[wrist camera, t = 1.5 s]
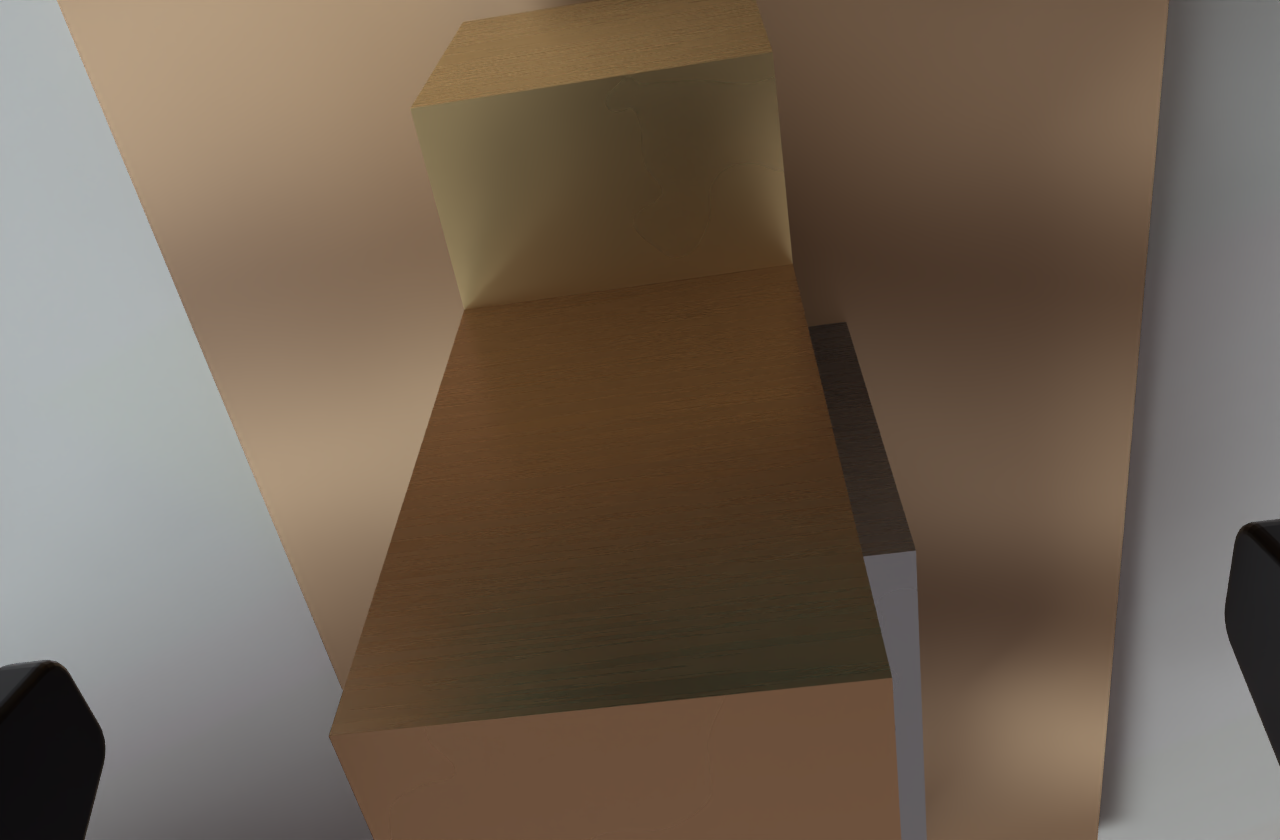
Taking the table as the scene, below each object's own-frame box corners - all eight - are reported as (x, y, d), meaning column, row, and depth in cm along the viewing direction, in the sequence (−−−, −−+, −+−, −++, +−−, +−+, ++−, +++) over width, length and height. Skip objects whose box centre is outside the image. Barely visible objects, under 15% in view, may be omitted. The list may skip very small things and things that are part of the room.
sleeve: (877, 763, 20) (934, 1041, 16) (602, 790, 21) (588, 1066, 17) (845, 321, 16) (915, 551, 11) (492, 368, 16) (434, 605, 12)
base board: (1077, 839, 23) (1093, 882, 22) (452, 894, 24) (445, 937, 23) (1254, -1639, 8) (1321, -1790, 7) (-365, -1174, 9) (-464, -1259, 9)
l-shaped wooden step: (843, 914, 21) (940, 1541, 14) (674, 928, 22) (683, 1551, 14) (747, -25, 12) (876, 362, 5) (463, 21, 13) (204, 449, 5)
